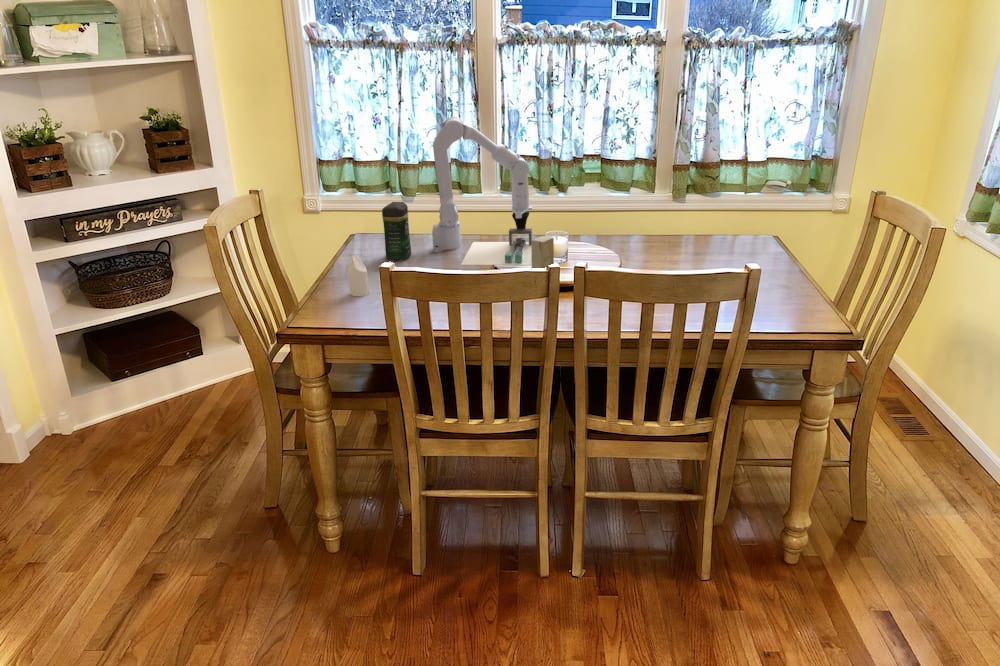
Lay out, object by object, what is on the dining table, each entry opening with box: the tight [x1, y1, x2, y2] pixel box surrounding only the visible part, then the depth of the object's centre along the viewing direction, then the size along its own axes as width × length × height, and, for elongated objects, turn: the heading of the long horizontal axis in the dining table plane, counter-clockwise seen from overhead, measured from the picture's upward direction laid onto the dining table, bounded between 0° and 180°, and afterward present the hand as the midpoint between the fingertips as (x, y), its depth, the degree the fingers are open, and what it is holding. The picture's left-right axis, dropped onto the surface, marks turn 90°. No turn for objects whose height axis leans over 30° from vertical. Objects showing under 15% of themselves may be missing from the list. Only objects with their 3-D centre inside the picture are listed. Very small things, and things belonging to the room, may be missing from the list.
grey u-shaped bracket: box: [508, 228, 533, 245], centre depth 269 cm, size 3×8×5 cm, turn 83°
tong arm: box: [505, 240, 517, 262], centre depth 259 cm, size 16×2×2 cm, turn 171°
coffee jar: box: [381, 201, 412, 262], centre depth 262 cm, size 10×8×19 cm
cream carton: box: [347, 254, 370, 297], centre depth 233 cm, size 6×12×6 cm
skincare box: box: [531, 235, 555, 269], centre depth 240 cm, size 6×4×12 cm
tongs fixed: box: [515, 237, 527, 262], centre depth 261 cm, size 20×4×2 cm, turn 173°
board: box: [460, 241, 532, 266], centre depth 263 cm, size 22×25×1 cm
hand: (521, 233), depth 272 cm, fingers closed
